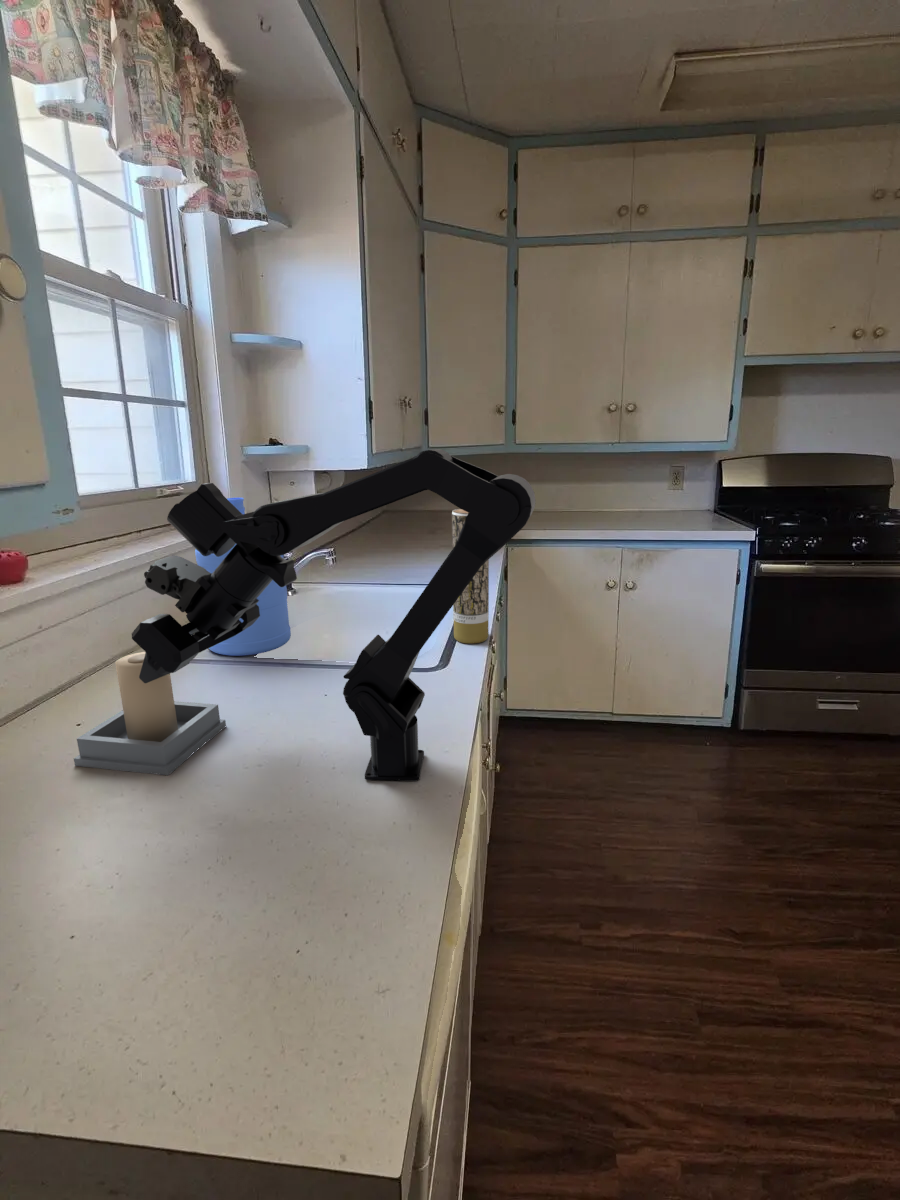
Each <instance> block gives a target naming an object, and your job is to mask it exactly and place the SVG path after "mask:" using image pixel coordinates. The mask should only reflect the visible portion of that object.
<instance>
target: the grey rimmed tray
mask: <svg viewBox="0 0 900 1200" xmlns="http://www.w3.org/2000/svg"><path fill="white" fill-rule="evenodd" d="M174 704H175V711H176V718H177V725H178V730H176V731H175V732H174V733H172V734H171V735H170V736H168V737H167V738H166V739H164V740H163V741H162V742H155V741H144V740H133V739H128V736H127V730H126V724H125V718H124V712H123V709H122V710H121V711H119V712H117V713H115V714H114V715H113V716H111V717H109V718H108V719H106V720H104V721H103V722H101V723H99V724H98V725H96V726H94V727H93V728H92V729H90V730H88V731H86V732H85V733H84V734H82V735H80V736H78V737H77V738H76V742H77V747H78V753H79V754H78V755H77V756H75V757H74V758H73V763H74V766H75V767H82V768H83V767H84V768H94V769H101V770H102V769H105V770H113V771H125V772H133V773H141V774H143V773H144V774H151V775H152V774H153V775H162V776H170V774H172V773H173V772H174V771H176V769H177V768H179V767H180V766H181V765H182V764H183V763H184V761H185V760H186V759H187V758H188V757H189V756H190V755H191V754H192V753H193V752H195V751H196V750H197V749H198V748H200V747H201V746H202V745H203V744H204V743H205V742H207V741H208V740H209V739H210V740H212V739H213V738H214V737H215V736H216V735H218V734H217V733H218V732H219V731H220V730H221V729H222V730H224V729H225V728H226V727H227V723H226V719H222V718H221V717H220V709H219V704H217V703H215V704H214V703H203V702H189V701H179V700H174ZM225 726H226V727H225ZM224 727H225V728H224ZM222 730H221V731H222ZM221 731H220V732H221ZM220 732H219V733H220ZM214 735H215V736H214ZM213 736H214V737H213ZM212 737H213V738H212ZM211 738H212V739H211ZM210 740H209V741H210ZM209 741H208V742H209ZM208 742H207V743H208ZM203 746H204V745H203ZM203 746H202V747H203ZM202 747H201V748H202ZM201 748H200V749H201ZM196 752H197V751H196ZM196 752H195V753H196ZM190 757H191V756H190ZM190 757H189V758H190ZM189 758H188V759H189ZM188 759H187V760H188ZM187 760H186V761H187ZM186 761H185V762H186ZM178 766H179V767H178Z"/></svg>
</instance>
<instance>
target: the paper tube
mask: <svg viewBox="0 0 900 1200" xmlns="http://www.w3.org/2000/svg"><path fill="white" fill-rule="evenodd" d="M467 515H468V512H466V511H464V510H462V509H460V508H458V509H457V508H456V509H453V510H452V512H451V540H452V541H451V542H452V545H451V546H452V549H453V548H454V546H455V545H456V542H457V540H458V537H459V535H460V532H461V530H462V527H463V524H464V522H465V519H466V517H467ZM452 549H451V550H452ZM489 563H490V559H489V560H487V561H486V562H485V563H484V564H483V565H482V566H481V567H480V569H479V570H478V572H477V573H476V574H475V576H474V577H473V578H472V580H471V581H470V583H469V584H468V585H467V587H466V588H465V589H464V591H463V592H462V594H461V595H460V596H459V598H458V599H457V600H456V602H455V603H454V604H453V606H452V608H453V611H452V613H453V617H452V619H453V638H454V640H456V641H457V642H459V643H462V644H468V645H469V644H472V645H473V644H480V643H483V642H486V641H487V639H488V638H489V618H490V617H489V615H490V614H489V613H490V611H489V608H490V607H489V606H490V605H489V602H490V599H489V598H490V597H489V595H490V593H489V585H490V584H489V583H490V582H489V581H490V580H489V579H490V577H489V574H490V571H489V570H490V569H489V568H490V567H489V565H490V564H489Z"/></svg>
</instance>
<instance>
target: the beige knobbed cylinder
mask: <svg viewBox="0 0 900 1200" xmlns="http://www.w3.org/2000/svg"><path fill="white" fill-rule="evenodd" d="M144 657H145V651H141V652H134V653H131V654H128V655H125V656H122V657H120V658H118V659H117V660H116V661H115V662H114V663H115V664H114V665H115V670H116V675H117V683H118V686H119V693H120V694H119V695H120V699H121V705H122V710H123V712H124V718H125V724H126V730H127V736H128V739H133V740H144V741H155V742H162V741H163V740H164V739H166V738H167V737H168V736H170V735H171V734H172V733H174V732H175V731H176V730H178V725H177V718H176V711H175V704H174V701H175V699H174V691H173V686H172V685H173V683H172V678H171V677H172V676H171V673H170V674H167V675H165V676H163V677H160V678H158V679H155V680H153V681H151V682H148V683H144V682H143V681H142V680H141V679H140V678H139V675H140V672H141V668H142V665H143V661H144Z"/></svg>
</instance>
